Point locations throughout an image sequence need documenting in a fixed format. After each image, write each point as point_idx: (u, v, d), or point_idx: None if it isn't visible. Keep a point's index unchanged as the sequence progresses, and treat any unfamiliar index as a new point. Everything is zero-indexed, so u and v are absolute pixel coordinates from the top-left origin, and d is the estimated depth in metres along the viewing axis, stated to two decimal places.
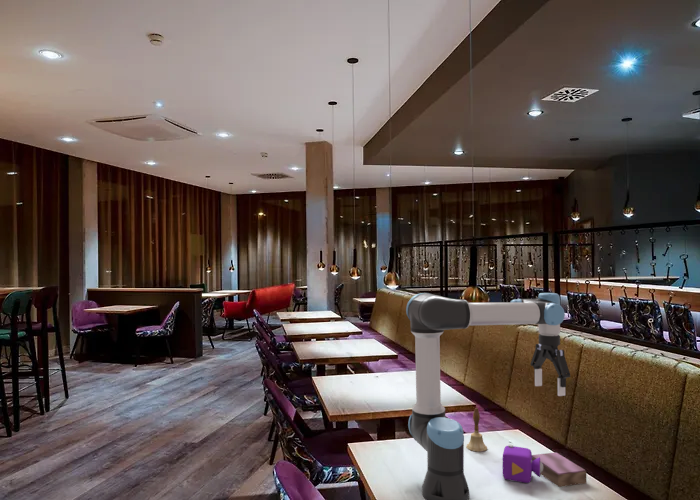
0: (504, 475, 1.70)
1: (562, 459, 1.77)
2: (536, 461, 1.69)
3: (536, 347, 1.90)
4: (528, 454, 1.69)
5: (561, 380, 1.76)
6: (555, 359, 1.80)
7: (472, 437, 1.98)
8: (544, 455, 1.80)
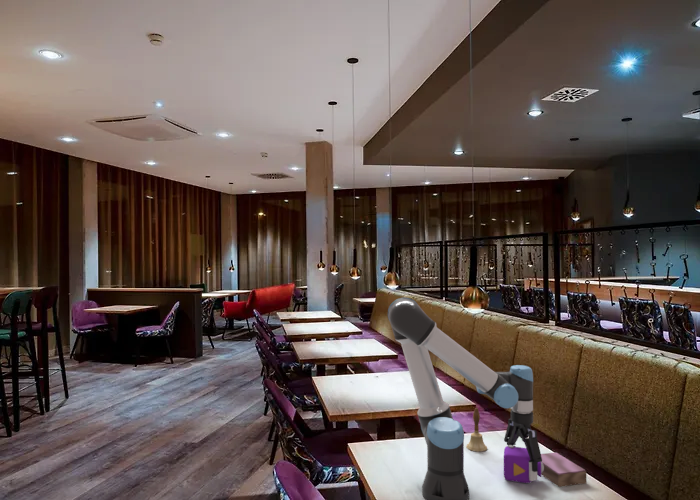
0: (505, 476, 1.69)
1: (562, 459, 1.77)
2: None
3: (509, 422, 1.78)
4: None
5: (533, 464, 1.65)
6: (527, 439, 1.68)
7: (472, 437, 1.98)
8: (544, 455, 1.80)
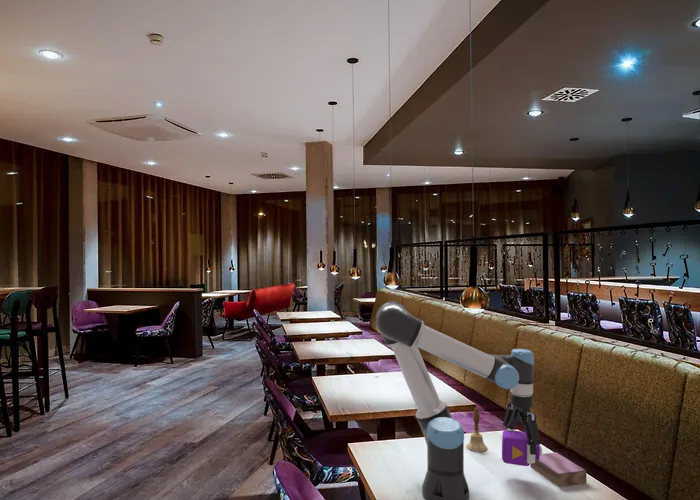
0: (504, 459, 1.69)
1: (562, 459, 1.77)
2: None
3: (508, 406, 1.78)
4: None
5: (531, 447, 1.65)
6: (526, 423, 1.68)
7: (472, 437, 1.98)
8: (544, 455, 1.80)
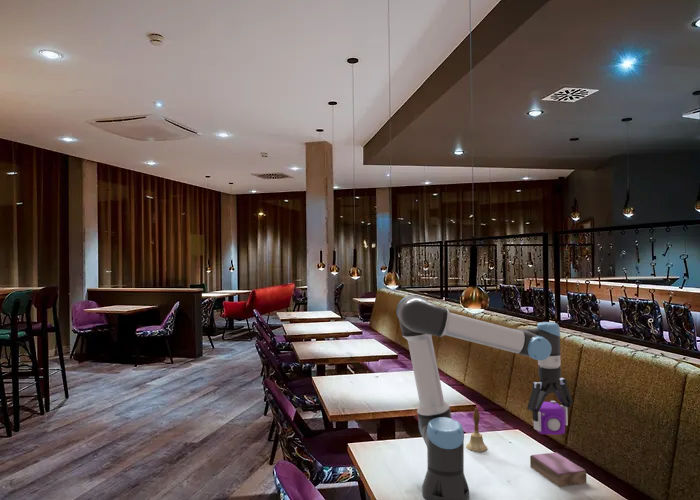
0: None
1: (562, 459, 1.77)
2: None
3: None
4: (545, 408, 1.72)
5: None
6: (541, 392, 1.73)
7: (472, 437, 1.98)
8: (544, 455, 1.80)
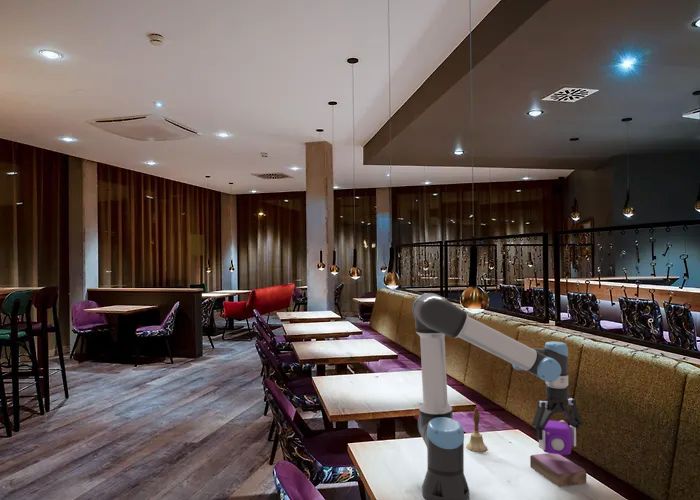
0: None
1: (562, 459, 1.77)
2: None
3: None
4: (551, 427, 1.73)
5: None
6: (547, 411, 1.74)
7: (472, 437, 1.98)
8: (544, 455, 1.80)
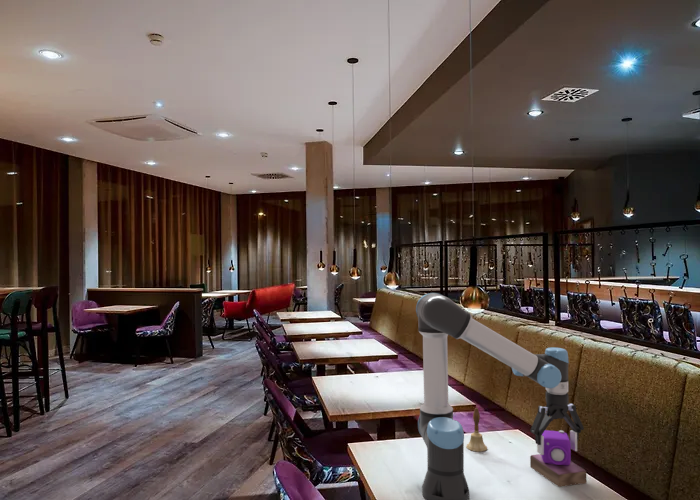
0: None
1: None
2: None
3: None
4: (550, 438, 1.73)
5: None
6: (546, 416, 1.74)
7: (472, 437, 1.98)
8: None
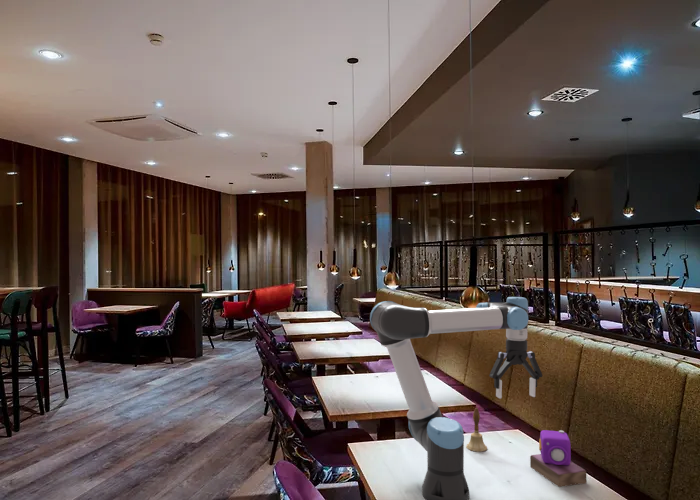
0: None
1: None
2: None
3: None
4: (550, 438, 1.73)
5: None
6: (505, 362, 1.80)
7: (472, 437, 1.98)
8: None
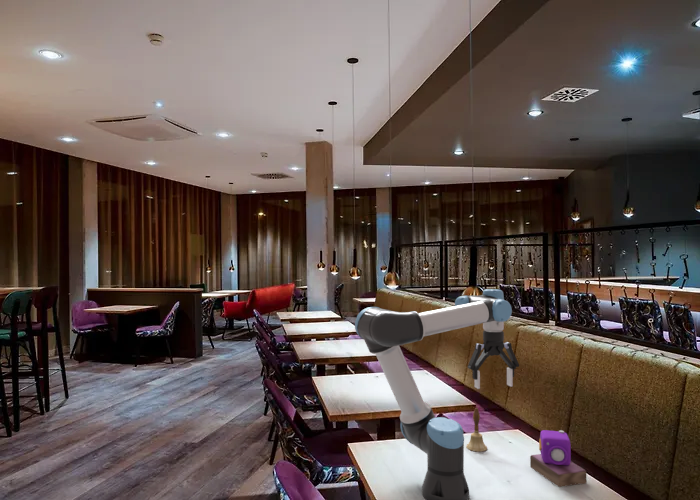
0: None
1: None
2: None
3: None
4: (550, 438, 1.73)
5: None
6: (483, 353, 1.83)
7: (472, 437, 1.98)
8: None
